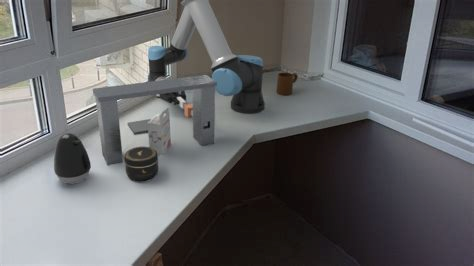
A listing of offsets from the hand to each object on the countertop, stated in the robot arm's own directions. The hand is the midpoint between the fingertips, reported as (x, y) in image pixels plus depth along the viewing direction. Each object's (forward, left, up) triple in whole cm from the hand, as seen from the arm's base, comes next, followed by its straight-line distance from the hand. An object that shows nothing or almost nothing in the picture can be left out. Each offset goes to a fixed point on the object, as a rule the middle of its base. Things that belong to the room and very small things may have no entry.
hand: (184, 105), depth 162 cm
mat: (+16, +3, -8) cm, 18 cm away
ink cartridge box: (+9, +22, -8) cm, 25 cm away
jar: (+14, +39, -8) cm, 42 cm away
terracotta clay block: (-4, +12, -2) cm, 13 cm away
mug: (-51, -35, -8) cm, 63 cm away
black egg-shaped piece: (+34, +40, -8) cm, 53 cm away
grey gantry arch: (+9, +22, -8) cm, 25 cm away
